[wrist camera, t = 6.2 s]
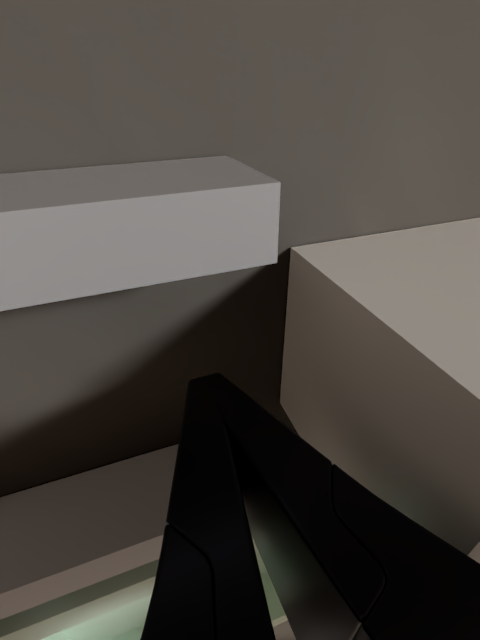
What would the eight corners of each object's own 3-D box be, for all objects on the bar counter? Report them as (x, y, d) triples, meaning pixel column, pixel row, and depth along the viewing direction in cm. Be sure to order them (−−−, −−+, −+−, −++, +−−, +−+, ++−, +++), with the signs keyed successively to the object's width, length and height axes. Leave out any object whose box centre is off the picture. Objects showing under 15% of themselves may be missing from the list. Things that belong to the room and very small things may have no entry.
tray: (313, 438, 13) (351, 498, 11) (295, 554, 19) (316, 606, 17) (-47, 558, 10) (-82, 670, 8) (66, 650, 16) (62, 727, 14)
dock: (226, 155, 7) (297, 191, 4) (238, 447, 12) (273, 535, 10) (-490, 214, 4) (-1261, 372, 2) (-72, 546, 9) (-129, 696, 7)
